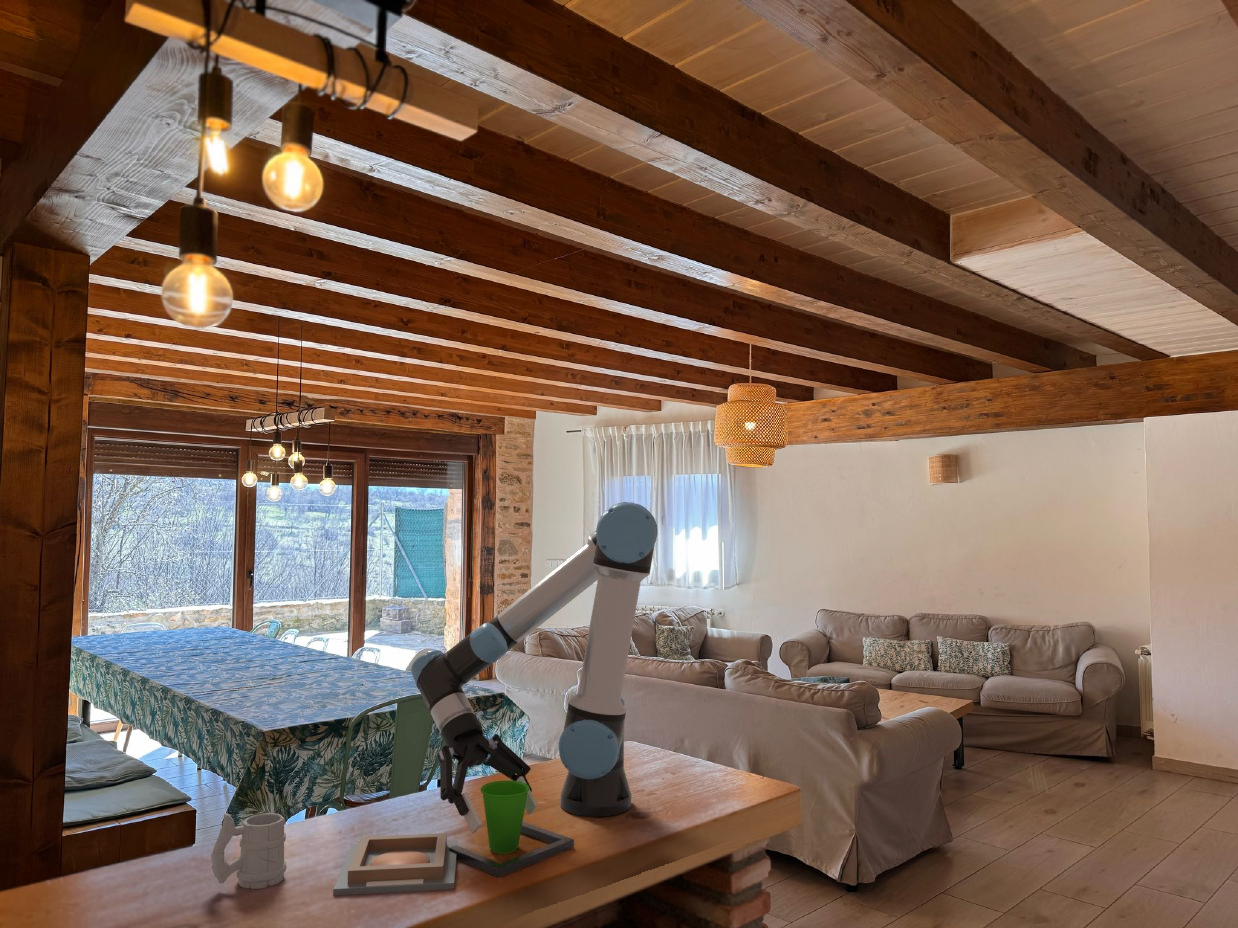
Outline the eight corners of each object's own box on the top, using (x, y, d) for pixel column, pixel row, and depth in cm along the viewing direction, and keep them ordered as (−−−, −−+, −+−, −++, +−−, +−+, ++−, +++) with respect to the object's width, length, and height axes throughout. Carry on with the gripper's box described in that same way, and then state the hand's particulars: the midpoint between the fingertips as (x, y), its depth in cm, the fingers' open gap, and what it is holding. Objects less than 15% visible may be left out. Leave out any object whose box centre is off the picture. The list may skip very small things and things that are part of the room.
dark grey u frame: (573, 847, 158) (574, 839, 158) (499, 877, 144) (499, 868, 144) (523, 829, 167) (523, 821, 167) (448, 855, 153) (449, 847, 153)
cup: (519, 860, 152) (521, 797, 152) (471, 855, 154) (473, 793, 154) (534, 841, 161) (536, 782, 161) (489, 837, 162) (490, 778, 163)
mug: (293, 881, 142) (295, 807, 142) (217, 901, 134) (220, 822, 135) (277, 866, 147) (280, 795, 148) (203, 884, 140) (206, 809, 141)
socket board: (457, 845, 158) (457, 828, 158) (453, 889, 139) (454, 870, 140) (351, 850, 155) (351, 833, 155) (333, 895, 137) (333, 875, 137)
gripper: (496, 723, 178) (545, 813, 168) (394, 745, 160) (441, 849, 149) (514, 701, 175) (564, 792, 164) (412, 721, 157) (461, 825, 146)
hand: (506, 819), depth 157 cm, fingers open, 13 cm apart
